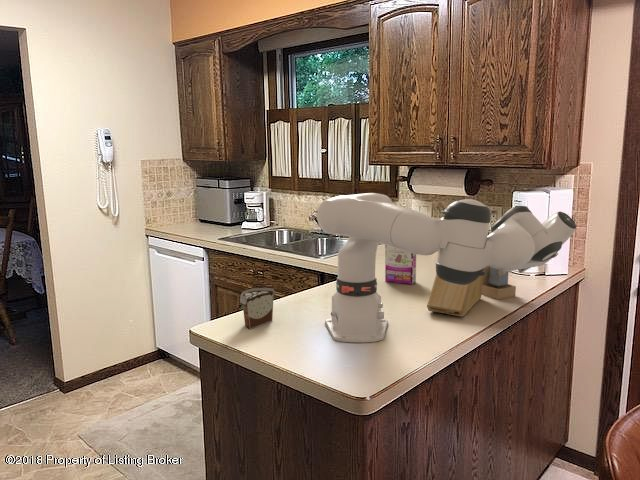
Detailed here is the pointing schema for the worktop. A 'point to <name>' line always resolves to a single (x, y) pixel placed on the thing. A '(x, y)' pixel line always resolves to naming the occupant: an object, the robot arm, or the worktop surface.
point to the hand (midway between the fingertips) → (510, 272)
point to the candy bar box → (399, 266)
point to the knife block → (454, 296)
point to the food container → (257, 306)
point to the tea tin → (497, 279)
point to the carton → (496, 292)
